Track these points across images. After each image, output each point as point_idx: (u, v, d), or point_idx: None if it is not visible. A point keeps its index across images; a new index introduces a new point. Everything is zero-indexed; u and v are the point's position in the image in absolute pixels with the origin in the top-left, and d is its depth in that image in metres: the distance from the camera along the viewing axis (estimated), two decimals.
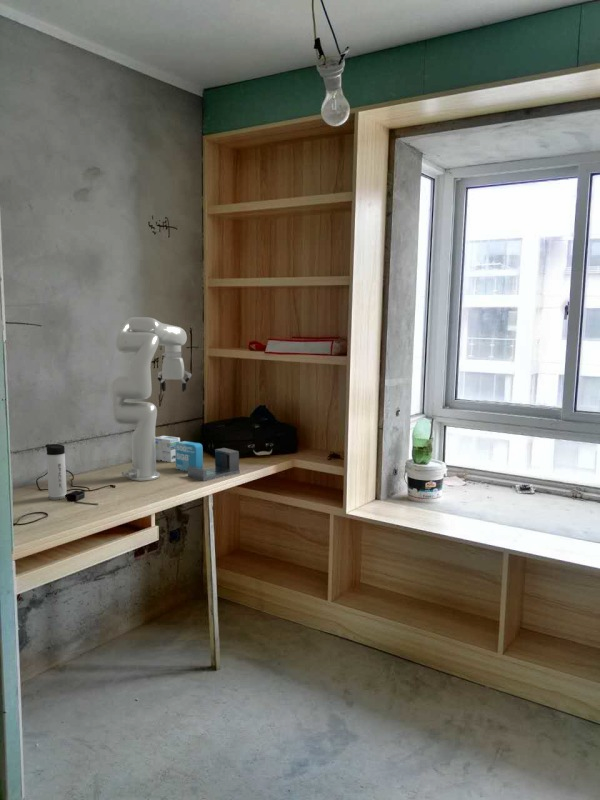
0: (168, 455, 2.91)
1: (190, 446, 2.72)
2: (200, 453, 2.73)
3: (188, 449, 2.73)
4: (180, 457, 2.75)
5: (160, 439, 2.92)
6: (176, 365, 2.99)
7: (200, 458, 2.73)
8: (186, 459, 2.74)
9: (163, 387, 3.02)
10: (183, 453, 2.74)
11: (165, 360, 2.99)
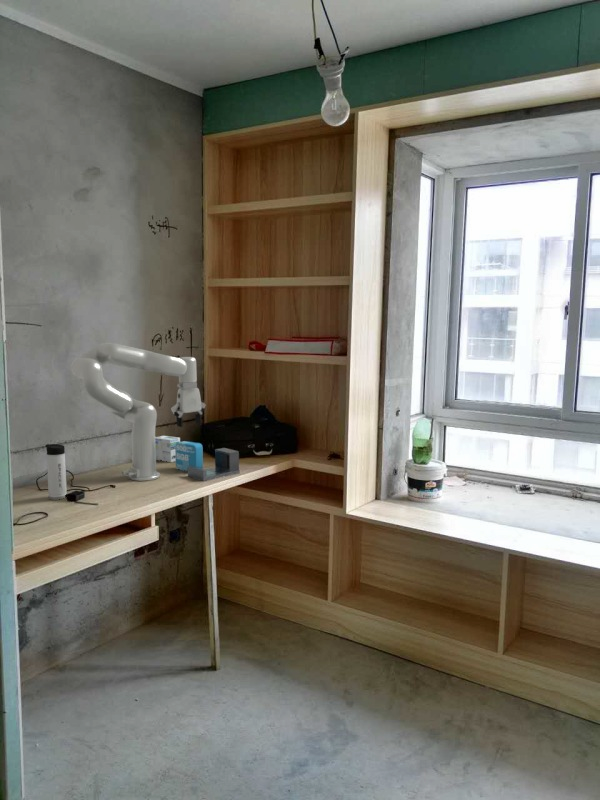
0: (168, 455, 2.91)
1: (190, 446, 2.72)
2: (200, 453, 2.73)
3: (188, 449, 2.73)
4: (180, 457, 2.75)
5: (160, 439, 2.92)
6: (196, 396, 2.72)
7: (200, 458, 2.73)
8: (186, 459, 2.74)
9: None
10: (183, 453, 2.74)
11: (185, 392, 2.68)
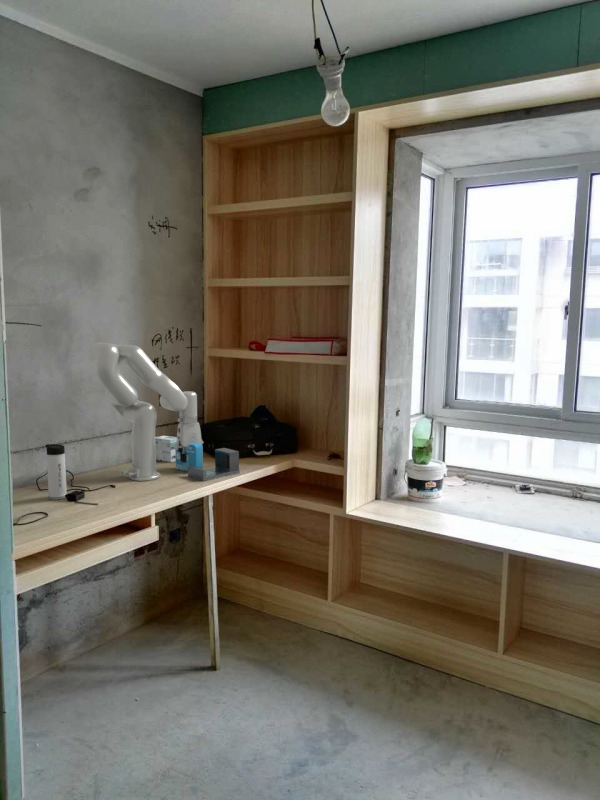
0: (168, 455, 2.91)
1: (190, 446, 2.72)
2: (200, 453, 2.73)
3: (188, 449, 2.73)
4: None
5: (160, 439, 2.92)
6: (196, 430, 2.74)
7: (200, 458, 2.73)
8: (186, 459, 2.74)
9: (185, 458, 2.73)
10: None
11: (185, 426, 2.70)
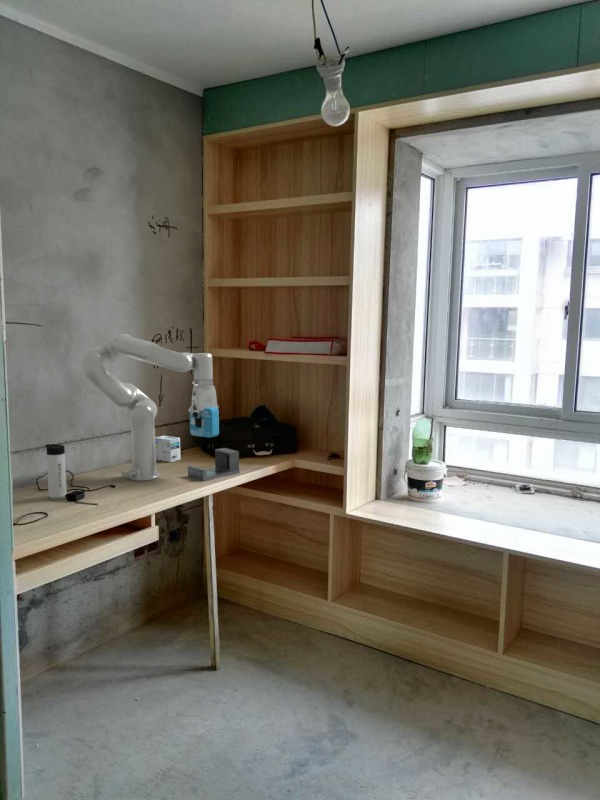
0: (168, 455, 2.91)
1: (206, 410, 2.58)
2: (216, 418, 2.60)
3: (204, 414, 2.59)
4: None
5: (160, 439, 2.92)
6: (212, 394, 2.61)
7: (216, 423, 2.60)
8: (201, 424, 2.60)
9: (200, 423, 2.59)
10: None
11: (201, 389, 2.57)
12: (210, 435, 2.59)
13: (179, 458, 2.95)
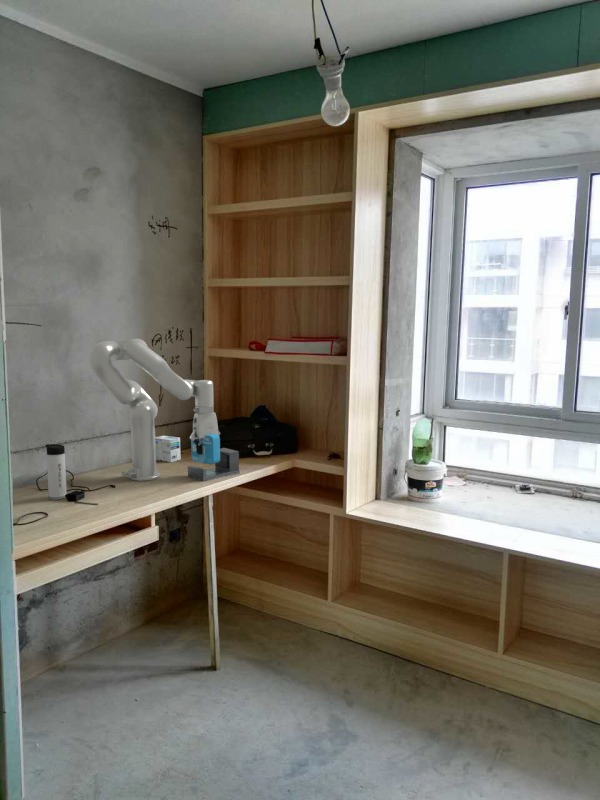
0: (168, 455, 2.91)
1: (207, 437, 2.59)
2: (217, 445, 2.60)
3: (205, 441, 2.60)
4: None
5: (160, 439, 2.92)
6: (213, 421, 2.62)
7: (217, 450, 2.61)
8: (202, 450, 2.61)
9: None
10: None
11: (202, 416, 2.58)
12: (211, 462, 2.60)
13: (179, 458, 2.95)
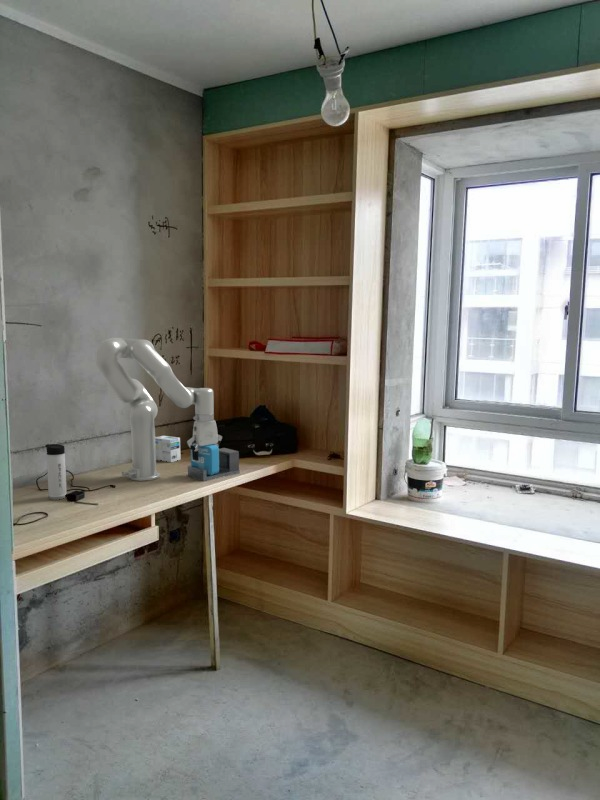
0: (168, 455, 2.91)
1: (206, 448, 2.60)
2: (216, 456, 2.61)
3: (204, 451, 2.61)
4: None
5: (160, 439, 2.92)
6: (213, 428, 2.62)
7: (216, 461, 2.61)
8: (201, 461, 2.62)
9: (198, 456, 2.59)
10: (199, 455, 2.63)
11: (202, 424, 2.58)
12: (210, 473, 2.60)
13: (179, 458, 2.95)
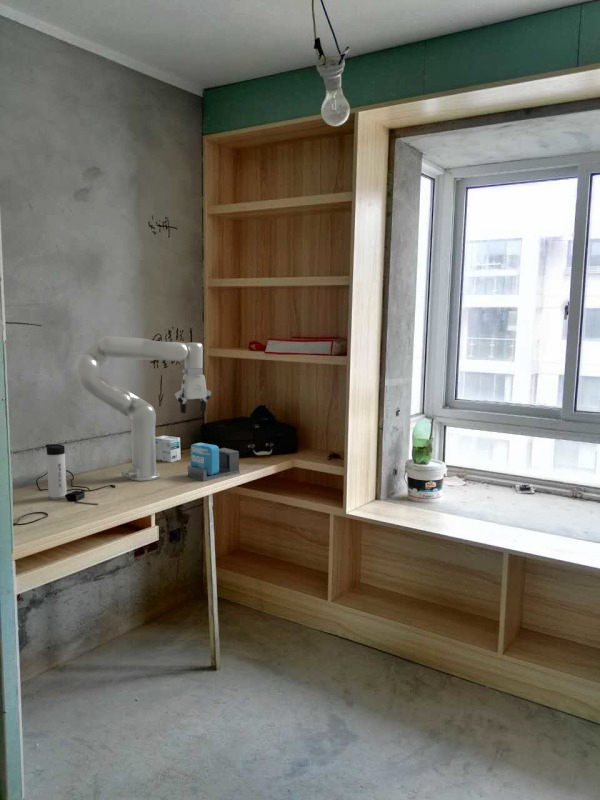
0: (168, 455, 2.91)
1: (206, 448, 2.60)
2: (216, 456, 2.61)
3: (204, 451, 2.61)
4: (196, 459, 2.64)
5: (160, 439, 2.92)
6: (201, 383, 2.66)
7: (216, 461, 2.61)
8: (201, 461, 2.62)
9: (185, 408, 2.64)
10: (199, 455, 2.63)
11: (190, 378, 2.63)
12: (210, 473, 2.60)
13: (179, 458, 2.95)
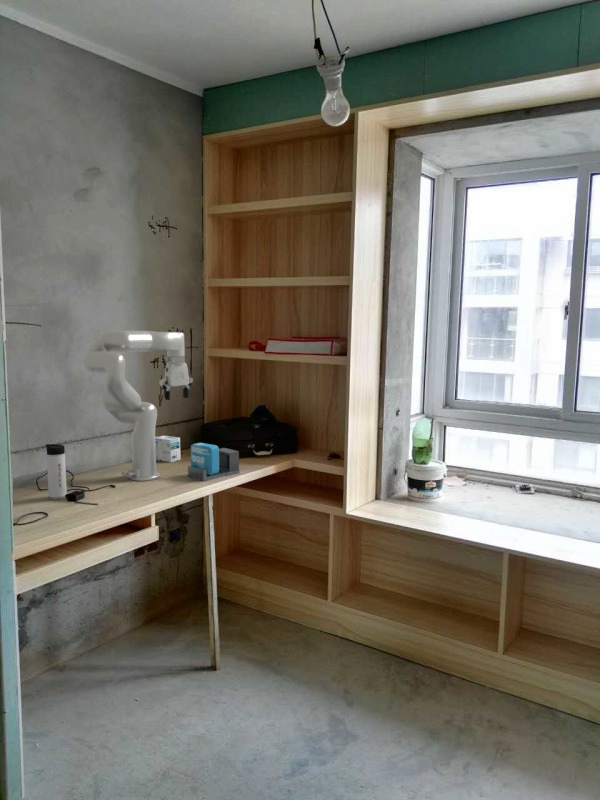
0: (168, 455, 2.91)
1: (206, 448, 2.60)
2: (216, 456, 2.61)
3: (204, 451, 2.61)
4: (196, 459, 2.64)
5: (160, 439, 2.92)
6: (183, 370, 2.78)
7: (216, 461, 2.61)
8: (201, 461, 2.62)
9: (169, 395, 2.76)
10: (199, 455, 2.63)
11: (173, 366, 2.74)
12: (210, 473, 2.60)
13: (179, 458, 2.95)
